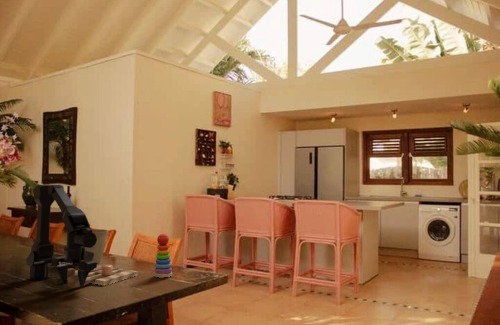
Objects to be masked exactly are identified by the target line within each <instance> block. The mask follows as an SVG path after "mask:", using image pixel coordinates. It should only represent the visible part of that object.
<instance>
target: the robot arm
mask: <svg viewBox="0 0 500 325" xmlns="http://www.w3.org/2000/svg"><path fill="white" fill-rule="evenodd" d="M32 193H33V200H34V202H35V203H36V205H37V214H36V215H37V216H36V234H35V236H36V237H35V241H34V243H32V245H31V248H30V252H29V254H28V256H27V257H26V259H25V265H26V266H29V277H27V278H26V280H29V281H34V282H39V281H43V280H47V279H51V276H49V266H48V265H49V264H51V265H50V266H52V267H53V268H54V269H55V271H56V272H57V275H58V276H59V278H60V280H61V281H62V284H63V285H67V283H68V280H67V273H68V269H70V268H71V266H75V267H77V270H76V271H77V272H78V278H79V283H80V286H79V287H80V288H83V287H84V286H85V285H86V284H85V281H86V279H87V276H88V274H89V273H90V271H91V270H94V268H97V266H98V263H97V262H96V261H94V260H93V257H94V254H95V253H92V252H88V251H85V247H87V248H91V247H93V246H94V245H95V244H96V242H97V238H96V235H95V234H94V233H92V229H93V228H92V227H91V224H90V222H89V220H88V218H87V215H86V213H85V212H84V211H83V210H82V209H81V208H79V207H77V206H75V204H74V203H73V201H72V200H71V198H70V197H69V195H68V193H67V191H65V187H64V185H62V184H37V185H36V186H35V187H34V188H33V191H32ZM54 202H55V203H56V205H57V207H58V208H59V209H60V211H61V212H62V213H61V214H62V215H63V216H62V217H61V218H62V221H63V223H64V225H65V227H66V229H65V230H64V233H66V247H64V248H63V251H64V252H66V254H65V255H62V256H55V257H54V254H55V253H54V248H55V245H54V244H52V243H51V240H50V230H51V228H50V226H51V224H50V223H51V209H52V208H51V207H52V205H53V203H54ZM84 260H85V261H84Z"/></svg>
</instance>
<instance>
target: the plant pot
mask: <svg viewBox="0 0 500 325" xmlns="http://www.w3.org/2000/svg"><path fill="white" fill-rule="evenodd" d="M91 229H92V233H94V234H95V235H96V238H97V242H96V244H95V245H94V246H93V247H91V248H87V247H85V251H88V252H92V253H95V254H94V257H93V260H94V261H96V262H97V264H100V263H101V261H102V258H103V255H104V252H105V249H106V245H107V241H108V234H109V229H102V228H101V229H98V228H97V229H95V228H94V229H93V228H91ZM84 261H85V260H84Z"/></svg>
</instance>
